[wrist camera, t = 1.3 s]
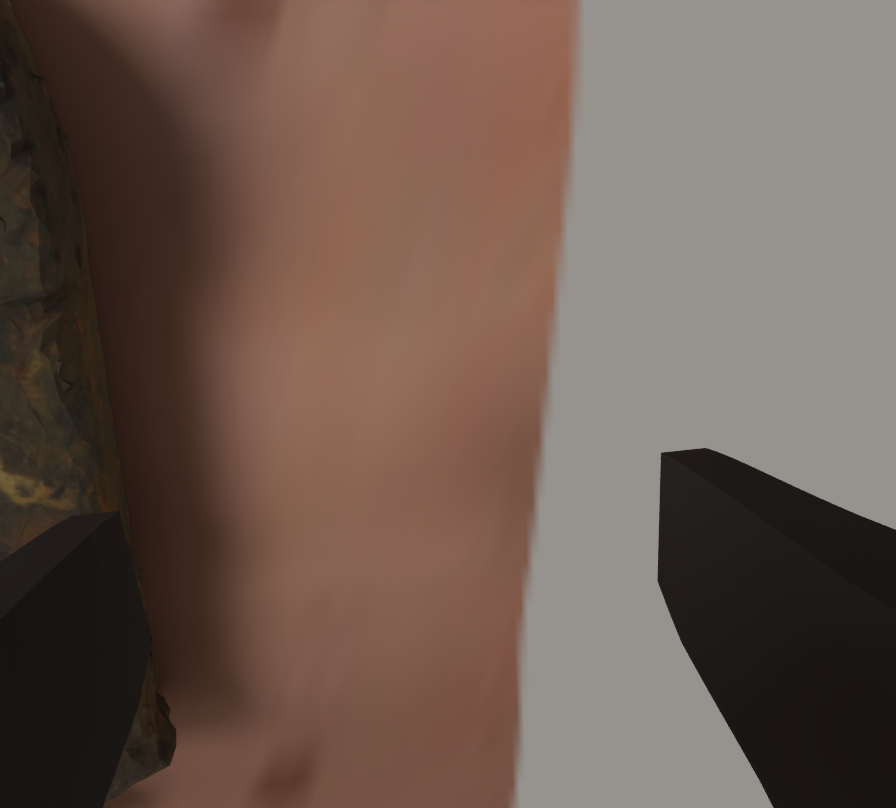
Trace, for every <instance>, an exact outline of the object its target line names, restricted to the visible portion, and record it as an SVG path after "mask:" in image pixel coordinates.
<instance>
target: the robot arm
mask: <svg viewBox="0 0 896 808" xmlns="http://www.w3.org/2000/svg"><path fill="white" fill-rule="evenodd" d="M659 513H660V514H659V550H658V583H659V586H660V588H661V591H662V594H663V596H664V599H665V602H666V604H667V607H668V610H669V612H670V615H671V618H672V620H673V622H674V625H675V627H676V630H677V632H678V635H679V637H680V640H681V642H682V644H683V646H684V647H685V649H686V651H687V653H688V655H689V657H690V659H691V660H692V662H693V664H694V666H695V668H696V669H697V671H698V673H699V675H700V676H701V678H702V680H703V682H704V684H705V685H706V687H707V689H708V691H709V693H710V694H711V696H712V698H713V699H714V701H715V703H716V705H717V707H718V708H719V710H720V712H721V714H722V715H723V717H724V718H725V721H726V722H727V724H728V726H729V728H730V729H731V731H732V733H733V734H734V736H735V738H736V740H737V742H738V743H739V745H740V746H741V749H742V750H743V752H744V754H745V756H746V757H747V759H748V761H749V762H750V764H751V766H752V768H753V770H754V771H755V773H756V775H757V777H758V778H759V780H760V782H761V784H762V786H763V788H764V790H765V792H766V794H767V796H768V798H769V799H770V802H771V803H772V805H773V807H774V808H896V530H895V529H892V528H890V527H887V526H885V525H882V524H880V523H877V522H875V521H872V520H869V519H867V518H865V517H862V516H859V515H857V514H854V513H852V512H850V511H848V510H845V509H843V508H841V507H838V506H836V505H834V504H831V503H829V502H827V501H825V500H823V499H820V498H818V497H816V496H814V495H812V494H809V493H807V492H805V491H803V490H800V489H798V488H796V487H794V486H792V485H790V484H788V483H786V482H783V481H781V480H779V479H777V478H775V477H772V476H771V475H768V474H766V473H764V472H762V471H760V470H758V469H755V468H753V467H751V466H749V465H747V464H745V463H742V462H740V461H738V460H736V459H733V458H731V457H729V456H726V455H724V454H721V453H719V452H716V451H713V450H710V449H707V448H702V449H692V450H683V451H674V452H664V453H661V477H660V512H659ZM151 641H152V638H151V634H150V630H149V626H148V622H147V618H146V614H145V610H144V606H143V602H142V598H141V594H140V591H139V587H138V583H137V579H136V575H135V571H134V567H133V563H132V559H131V555H130V551H129V547H128V543H127V539H126V535H125V531H124V528H123V524H122V520H121V516H120V512H119V511H114V512H104V513H95V514H86V515H76V516H71V517H69V518H67V519H65V520H63V521H61V522H59V523H58V524H56V525H54V526H53V527H51V528H50V529H48V530H46V531H45V532H43V533H42V534H40V535H39V536H37V537H36V538H34V539H33V540H31V541H30V542H28V543H27V544H25V545H24V546H22V547H21V548H19V549H18V550H17V551H15V552H14V553H12V554H11V555H9V556H8V557H7V558H5V559H4V560H2V561H1V562H0V808H103V805H104V802H105V800H106V797H107V794H108V791H109V789H110V786H111V783H112V780H113V778H114V775H115V772H116V769H117V767H118V764H119V761H120V758H121V755H122V753H123V750H124V747H125V744H126V741H127V738H128V736H129V733H130V730H131V727H132V724H133V721H134V718H135V715H136V712H137V709H138V706H139V701H140V697H141V692H142V688H143V683H144V679H145V674H146V668H147V663H148V658H149V652H150V647H151Z"/></svg>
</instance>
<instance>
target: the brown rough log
mask: <svg viewBox="0 0 896 808" xmlns="http://www.w3.org/2000/svg"><path fill="white" fill-rule="evenodd" d="M87 235H88V234H87V228H86V221H85V217H84V211H83V206H82V202H81V197H80V193H79V188H78V183H77V178H76V174H75V170H74V167H73V163H72V159H71V155H70V151H69V147H68V142H67V138H66V136H65V135H64V134H63V131H62V130H61V129H60V126H59V124H58V121H57V118H56V115H55V112H54V110H53V104H52V100H51V98H50V95H49V93H48V90H47V87H46V84H45V81H44V79H43V77H42V76H40V73H39V71H38V68H37V65H36V62H35V60H34V57H33V54H32V51H31V49H30V46H29V44H28V42H27V40H26V38H25V36H24V34H23V32H22V29H21V27H20V25H19V23H18V21H17V19H16V16H15V14H14V11H13V9H12V7H11V4H10V2H9V0H0V562H1V561H2V560H4V559H5V558H7V557H8V556H9V555H11V554H12V553H14V552H15V551H17V550H18V549H19V548H21V547H22V546H24V545H25V544H27V543H28V542H30V541H31V540H33V539H34V538H36V537H37V536H39V535H40V534H42V533H43V532H45V531H46V530H48V529H50V528H51V527H53V526H54V525H56V524H58V523H59V522H61V521H63V520H65V519H67V518H69V517H71V516H76V515H86V514H95V513H104V512H114V511H119V512H120V516H121V520H122V524H123V528H124V531H125V535H126V539H127V543H128V547H129V551H130V555H131V559H132V563H133V567H134V571H135V575H136V579H137V583H138V587H139V591H140V594H141V598H142V602H143V606H144V610H145V614H146V611H147V606H146V601H145V596H144V592H143V589H142V581H143V572H142V567H141V564H140V559H139V557H138V554H137V552H136V550H135V547H134V545H133V543H132V541H131V534H130V520H129V508H128V502H127V497H126V492H125V488H124V484H123V479H122V472H121V466H120V459H119V453H118V446H117V440H116V434H115V428H114V422H113V416H112V411H111V405H110V399H109V393H108V387H107V376H106V367H105V361H104V355H103V349H102V343H101V338H100V332H99V326H98V318H97V311H96V305H95V299H94V293H93V287H92V281H91V275H90V269H89V259H88V237H87ZM159 669H160V668H159V663H158V659H156V658H154V657H152V654H151V651H150V652H149V658H148V663H147V668H146V674H145V679H144V683H143V688H142V692H141V697H140V701H139V706H138V709H137V712H136V715H135V718H134V721H133V724H132V727H131V730H130V733H129V736H128V738H127V741H126V744H125V747H124V750H123V753H122V755H121V758H120V761H119V764H118V767H117V769H116V772H115V775H114V778H113V780H112V783H111V786H110V789H109V791H108V794H107V797H106V800H105V801H107V800H109V799H112V798H114V797H116V796H118V795H119V794H121V793H122V792H124V791H125V790H126V789H128V788H129V787H130V786H132V785H134V784H135V783H137V782H139V781H141V780H143V779H145V778H147V777H149V776H151V775H153V774H154V773H156V772H158V771H160V770H162V769H164V768H166V767H168V766H170V764H171V761H172V759H173V755H174V752H175V748H176V729H175V727H174V726H173V725H172V723H171V722H170V720H169V714H170V708H169V706H168V704H167V702H166V700H165V698H164V697H163V696H161V695H160V694H158V693H157V692H156V691H157V685H158V679H159Z"/></svg>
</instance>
